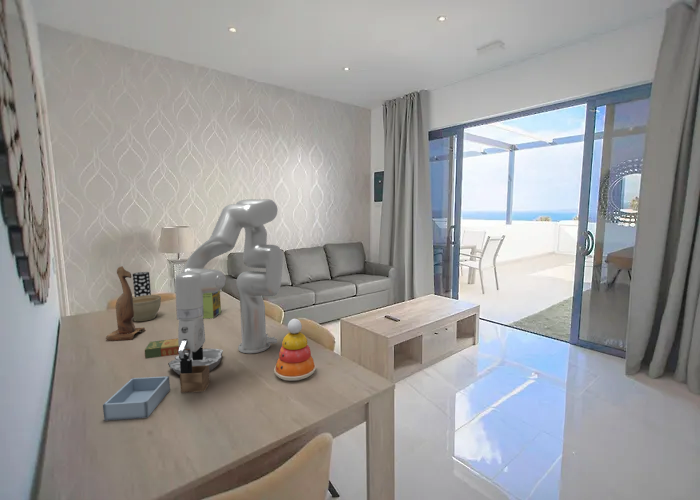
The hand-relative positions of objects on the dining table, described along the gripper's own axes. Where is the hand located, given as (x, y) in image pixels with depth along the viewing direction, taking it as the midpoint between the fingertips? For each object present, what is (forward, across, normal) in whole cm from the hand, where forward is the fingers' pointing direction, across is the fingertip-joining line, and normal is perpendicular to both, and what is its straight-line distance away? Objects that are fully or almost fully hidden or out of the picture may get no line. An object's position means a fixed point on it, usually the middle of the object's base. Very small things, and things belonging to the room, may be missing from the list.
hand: (192, 366), depth 106 cm
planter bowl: (+6, +76, +51) cm, 91 cm away
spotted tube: (+6, +100, +63) cm, 118 cm away
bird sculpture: (+7, +51, +47) cm, 69 cm away
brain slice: (+7, +16, +5) cm, 18 cm away
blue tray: (+8, -7, +13) cm, 16 cm away
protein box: (+6, +78, +22) cm, 81 cm away
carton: (+7, +31, +20) cm, 37 cm away
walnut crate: (+7, +1, 0) cm, 8 cm away
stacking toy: (+7, +7, -31) cm, 33 cm away
